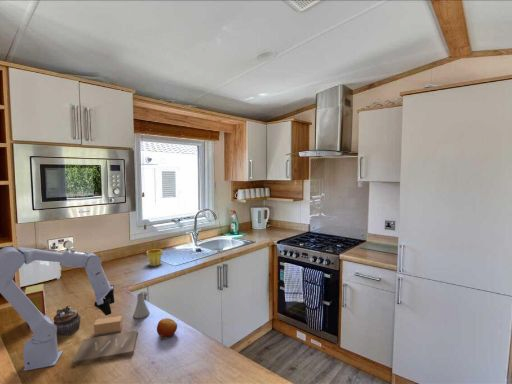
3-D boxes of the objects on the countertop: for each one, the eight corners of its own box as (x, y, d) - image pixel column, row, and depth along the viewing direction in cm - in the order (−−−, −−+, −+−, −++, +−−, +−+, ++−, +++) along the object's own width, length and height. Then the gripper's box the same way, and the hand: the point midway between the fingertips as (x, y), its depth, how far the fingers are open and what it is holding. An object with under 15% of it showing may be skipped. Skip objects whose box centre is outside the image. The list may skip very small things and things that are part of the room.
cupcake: (63, 339, 118) (61, 315, 117) (50, 333, 123) (47, 310, 122) (86, 327, 127) (84, 305, 126) (73, 322, 131) (71, 301, 130)
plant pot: (148, 262, 209) (147, 249, 208) (163, 261, 211) (162, 248, 210) (146, 267, 199) (145, 253, 198) (161, 266, 201) (161, 252, 200)
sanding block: (94, 336, 120) (93, 325, 119) (97, 330, 124) (96, 319, 124) (120, 332, 123) (120, 321, 122) (122, 326, 127) (121, 315, 126)
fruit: (149, 334, 118) (157, 314, 120) (165, 336, 123) (173, 317, 125) (158, 342, 112) (167, 321, 115) (174, 344, 117) (182, 324, 120)
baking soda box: (29, 319, 134) (25, 286, 132) (46, 315, 137) (43, 282, 136) (27, 329, 126) (24, 293, 124) (46, 324, 130) (43, 289, 128)
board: (72, 366, 102) (71, 361, 102) (83, 342, 116) (83, 339, 115) (133, 354, 108) (133, 350, 107) (137, 333, 121) (137, 330, 121)
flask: (133, 312, 138) (132, 292, 137) (149, 309, 141) (148, 290, 140) (132, 320, 132) (131, 299, 131) (149, 317, 134) (148, 296, 133)
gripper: (105, 287, 111) (117, 316, 115) (112, 269, 125) (122, 295, 129) (86, 293, 110) (98, 322, 114) (95, 274, 123) (106, 301, 127)
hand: (110, 308), depth 121 cm, fingers open, 7 cm apart
